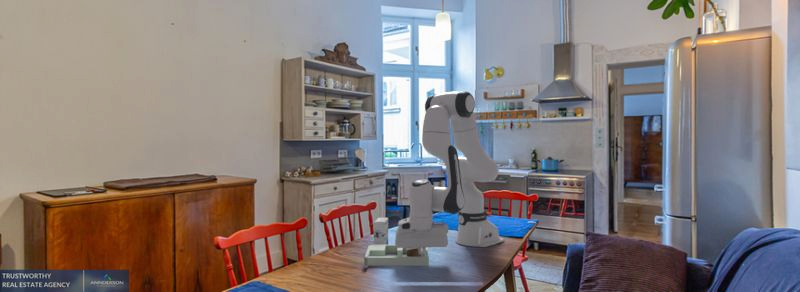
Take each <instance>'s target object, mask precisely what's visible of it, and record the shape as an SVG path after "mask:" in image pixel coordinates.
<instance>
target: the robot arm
mask: <svg viewBox="0 0 800 292" xmlns="http://www.w3.org/2000/svg"><path fill="white" fill-rule="evenodd" d="M475 107H476V101H475V98H474V96H473V95H472V93H470V92H469V91H448V92H444V93H443V92H442V93H437V94H435V93H434V94H432V95H430V96H428V98H427V99H426V101H425V103H424V112H425V114H424V118H423V123H422V135H421V136H422V142H421V143H422V147H423V148H424V150H425V151H426V152H427V153H428V154H430V155H431V156H433V157H435V158H437V159H439V160H441V161H442V163H444V165H445V171H446V176H447V177H446V178H447V187H446V186H439V185H433V184H432V183H431V181H430V180H429V179H417V180H414V181H412V182H411V184H410V186H409V197H408V201H409V202H408V203H409V207H410V208H409V209H410V210H409V217H406V218H403V219H400V220H399V221H398V223H397V228H396V230H395V231H396V232H395V240H394V245H395V246H396V247H397V248H418V251H419V257H424V256H425V254H424V252H425V251H426V247H427V248H446V247H448V246H449V240H448V239H449V238H448V233H449V225H448V224H447V223H446V222H444V221H441V222H437V221H435V222H434V220H433V219H434V218H433V215H434V214H433V211H435V212H441V213H446V214H450V215H456V214H457V217H458V218H457V219H458V229H457V234H456V238H455V243H456V244H458V245H462V246H467V247H479V248H486V247H490V246H493V245H496V244H499V243H500V244H501V243H503V242H505V239H504V238H503V237H502V236H500V235H499V228H498V227H497V226H496V225H495V224H494V223H492V222H491V221H490V220H489V219H488V217H489V218H490V217H491V216H492V213H491V212H490V211H485V207H484V206H485V203H484V202H485V199H484V197H485V196H484V194H483V192H482V191H481V190H479V189H478V187H476V185H475V183H488V182H493V181H495V180H496V178H498V175H499V165H498V163H497V161H495V160H494V159H493V158H491V156H489V155H488V153H487V152H486V151H485V150H484V148H483V146H482V143H481V139H480V137H479V131H478V125H477V119H476V116H475V114H474V111H475ZM451 132H452V138H453V144H454V145H453V144H452V141H451ZM457 150H458V151H459V152H461V154H463V156H459V155H458V151H457ZM421 247H422V252H421Z"/></svg>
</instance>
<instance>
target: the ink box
mask: <svg viewBox="0 0 800 292" xmlns="http://www.w3.org/2000/svg"><path fill="white" fill-rule="evenodd" d="M373 245H389V217H378V218H376V220H375V221H373Z"/></svg>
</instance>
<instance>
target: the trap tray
mask: <svg viewBox="0 0 800 292" xmlns="http://www.w3.org/2000/svg"><path fill="white" fill-rule="evenodd" d="M428 251H429V250H428V247H426V251H425V252H424V254H425V256H424V257H407V254H406V248H397V247H396V246H395V244H387V245H374V244H368V247H367V249H366V252H365V255H364V262H363V264H364V265H363V267H364V269H368V268H369V267H371V266H382V267H383V266H385V267H386V266H387V267H388V266H389V267H391V266H393V267H394V266H396V267H397V266H401V267H402V266H403V267H405V266H406V267H411V266H414V267H418V266H419V267H420V266H423V267H424V266H425V267H426V266H427V267H429V265H430V263H429V261H430V260H429V259H430V258H429V256H428V255H429V252H428ZM421 252H422V247H421ZM418 253H419V251H418Z"/></svg>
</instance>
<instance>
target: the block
mask: <svg viewBox="0 0 800 292" xmlns="http://www.w3.org/2000/svg"><path fill="white" fill-rule="evenodd" d="M406 254H407V257H419V253H418V248H406Z"/></svg>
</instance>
